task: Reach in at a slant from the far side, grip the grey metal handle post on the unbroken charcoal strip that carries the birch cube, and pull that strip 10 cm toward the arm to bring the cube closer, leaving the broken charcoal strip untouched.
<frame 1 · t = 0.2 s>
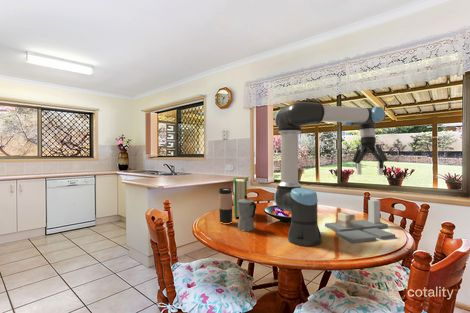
hand: (369, 174, 139), 28 cm above the table, tool pointing down, fingers open, 13 cm apart
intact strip: (355, 214, 134), point 7 cm above the table, slide at 0.0 cm, touching birch cube
birch cube: (346, 224, 132), point 2 cm above the table, touching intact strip
coffeepot: (247, 229, 133), on the table
broken strip: (368, 236, 119), on the table
travel mug: (226, 223, 146), on the table
hardback book: (240, 215, 164), on the table
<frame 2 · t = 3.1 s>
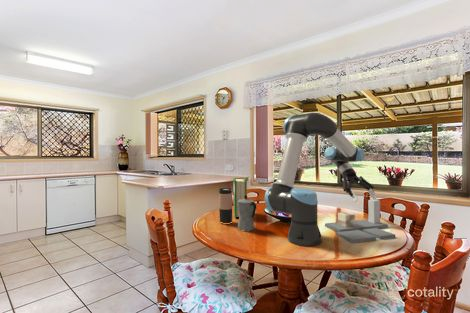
hand: (366, 199, 144), 13 cm above the table, tool tilted 45°, fingers open, 13 cm apart
nothing on the table moved.
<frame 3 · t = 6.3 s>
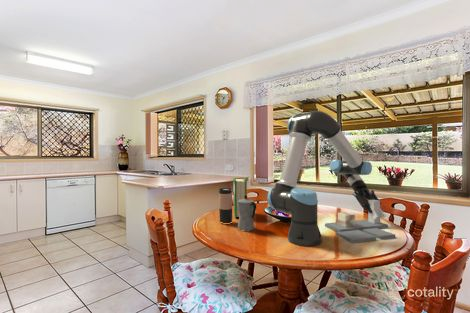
hand: (379, 217, 133), 5 cm above the table, tool tilted 45°, fingers closed on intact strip, 4 cm apart
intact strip: (355, 214, 134), point 7 cm above the table, slide at 0.0 cm, touching birch cube, gripper
everything else where it was.
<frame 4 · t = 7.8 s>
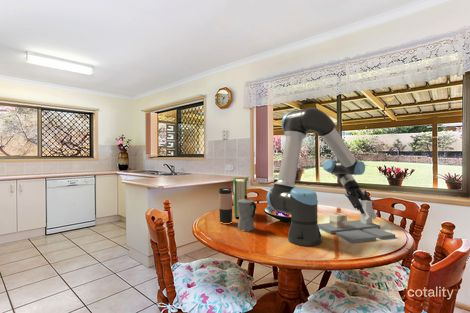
hand: (371, 218, 132), 5 cm above the table, tool tilted 45°, fingers closed on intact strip, 4 cm apart
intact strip: (347, 215, 132), point 7 cm above the table, slide at 5.2 cm, touching birch cube, gripper
birch cube: (338, 225, 131), point 2 cm above the table, touching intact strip
everything else where it was.
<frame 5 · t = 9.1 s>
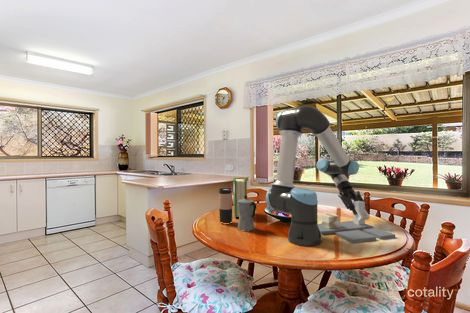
hand: (364, 218, 131), 5 cm above the table, tool tilted 45°, fingers closed on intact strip, 4 cm apart
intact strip: (340, 215, 131), point 7 cm above the table, slide at 10.0 cm, touching birch cube, gripper
birch cube: (330, 226, 130), point 2 cm above the table, touching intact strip
everything else where it was.
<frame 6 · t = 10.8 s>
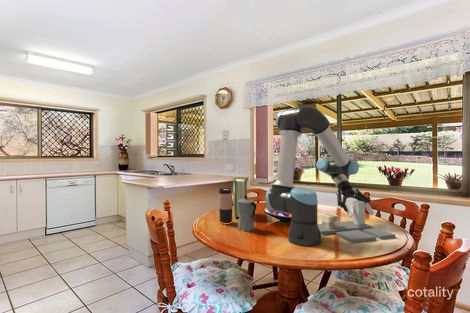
hand: (362, 215, 132), 7 cm above the table, tool tilted 45°, fingers open, 13 cm apart
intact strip: (340, 215, 131), point 7 cm above the table, slide at 10.0 cm, touching birch cube
everything else where it was.
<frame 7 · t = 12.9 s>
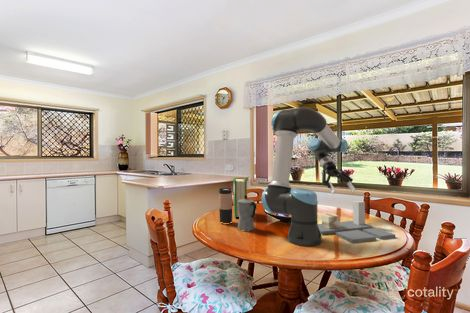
hand: (344, 191, 145), 18 cm above the table, tool tilted 45°, fingers open, 13 cm apart
nothing on the table moved.
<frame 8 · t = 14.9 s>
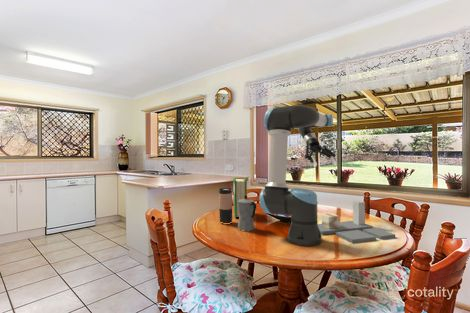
hand: (326, 165, 147), 33 cm above the table, tool tilted 45°, fingers open, 13 cm apart
nothing on the table moved.
at the end: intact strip slide at 10.0 cm; birch cube inside the target area (1.0 cm from its centre), point 1.7 cm above the table; birch cube tilted 0° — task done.
